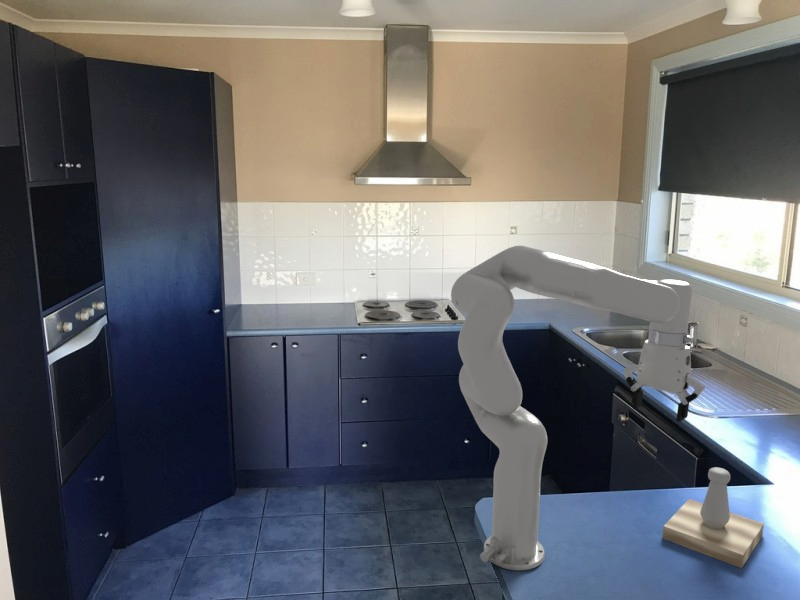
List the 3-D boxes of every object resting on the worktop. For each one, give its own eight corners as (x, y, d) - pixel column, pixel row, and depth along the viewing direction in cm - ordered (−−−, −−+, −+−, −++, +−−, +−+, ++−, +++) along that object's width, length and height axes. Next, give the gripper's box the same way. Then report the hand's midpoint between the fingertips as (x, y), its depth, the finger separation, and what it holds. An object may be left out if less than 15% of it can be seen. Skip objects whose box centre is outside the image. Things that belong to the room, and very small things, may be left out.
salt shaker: (719, 517, 145) (726, 463, 143) (733, 531, 140) (740, 476, 137) (694, 518, 145) (700, 464, 142) (707, 532, 139) (713, 476, 137)
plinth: (741, 568, 132) (743, 555, 131) (662, 538, 142) (663, 525, 142) (762, 535, 143) (764, 523, 143) (687, 510, 154) (689, 498, 153)
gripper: (715, 343, 135) (705, 420, 138) (635, 327, 147) (628, 399, 150) (702, 349, 130) (692, 429, 133) (620, 332, 141) (613, 407, 145)
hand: (658, 413), depth 142 cm, fingers open, 9 cm apart
